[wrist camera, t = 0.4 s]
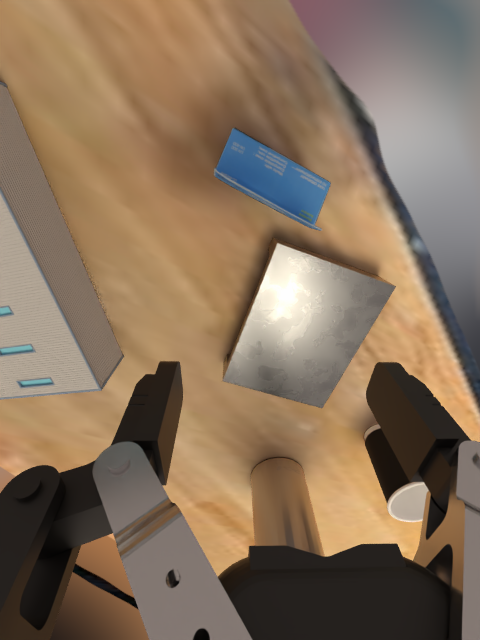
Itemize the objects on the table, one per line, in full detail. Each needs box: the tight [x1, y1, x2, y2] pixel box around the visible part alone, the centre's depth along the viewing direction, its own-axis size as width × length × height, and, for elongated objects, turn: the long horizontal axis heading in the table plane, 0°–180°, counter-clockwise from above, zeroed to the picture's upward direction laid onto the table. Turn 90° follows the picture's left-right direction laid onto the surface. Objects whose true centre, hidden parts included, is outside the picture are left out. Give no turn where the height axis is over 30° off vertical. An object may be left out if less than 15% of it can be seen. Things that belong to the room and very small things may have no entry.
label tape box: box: [214, 128, 331, 231], centre depth 24 cm, size 9×4×12 cm, turn 64°
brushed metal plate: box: [223, 238, 396, 408], centre depth 35 cm, size 18×14×4 cm
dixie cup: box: [364, 424, 429, 522], centre depth 40 cm, size 8×8×11 cm
